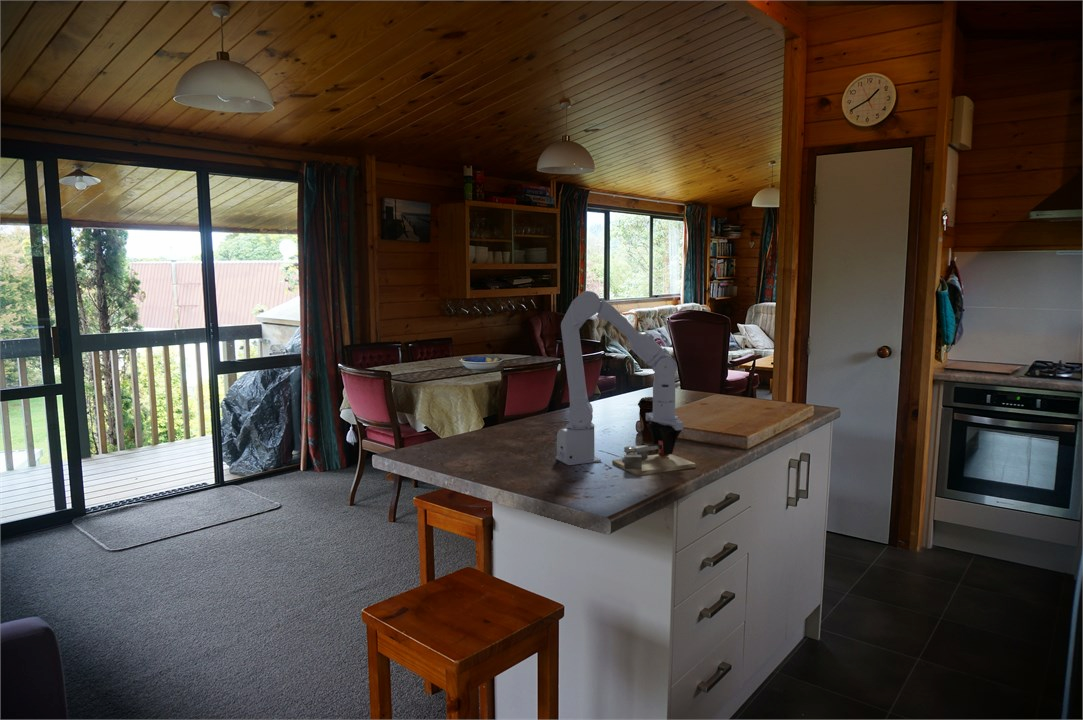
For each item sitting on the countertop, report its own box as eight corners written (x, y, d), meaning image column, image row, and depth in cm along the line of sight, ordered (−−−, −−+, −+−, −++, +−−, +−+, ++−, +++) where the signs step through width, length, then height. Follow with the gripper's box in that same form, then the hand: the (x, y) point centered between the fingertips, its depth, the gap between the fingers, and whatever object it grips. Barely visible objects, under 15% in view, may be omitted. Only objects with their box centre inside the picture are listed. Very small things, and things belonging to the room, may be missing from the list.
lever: (628, 462, 176) (628, 445, 176) (622, 459, 179) (622, 443, 179) (671, 456, 182) (671, 440, 181) (664, 453, 184) (665, 438, 184)
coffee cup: (632, 444, 200) (633, 399, 199) (642, 438, 208) (643, 395, 206) (662, 447, 196) (662, 402, 195) (671, 441, 204) (671, 397, 202)
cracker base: (631, 476, 168) (631, 459, 168) (607, 464, 179) (607, 448, 179) (695, 467, 176) (695, 451, 175) (668, 456, 187) (668, 441, 186)
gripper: (693, 403, 176) (693, 456, 177) (661, 395, 189) (661, 444, 190) (669, 406, 173) (669, 460, 174) (638, 397, 186) (638, 447, 188)
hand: (663, 452), depth 182 cm, fingers open, 4 cm apart
